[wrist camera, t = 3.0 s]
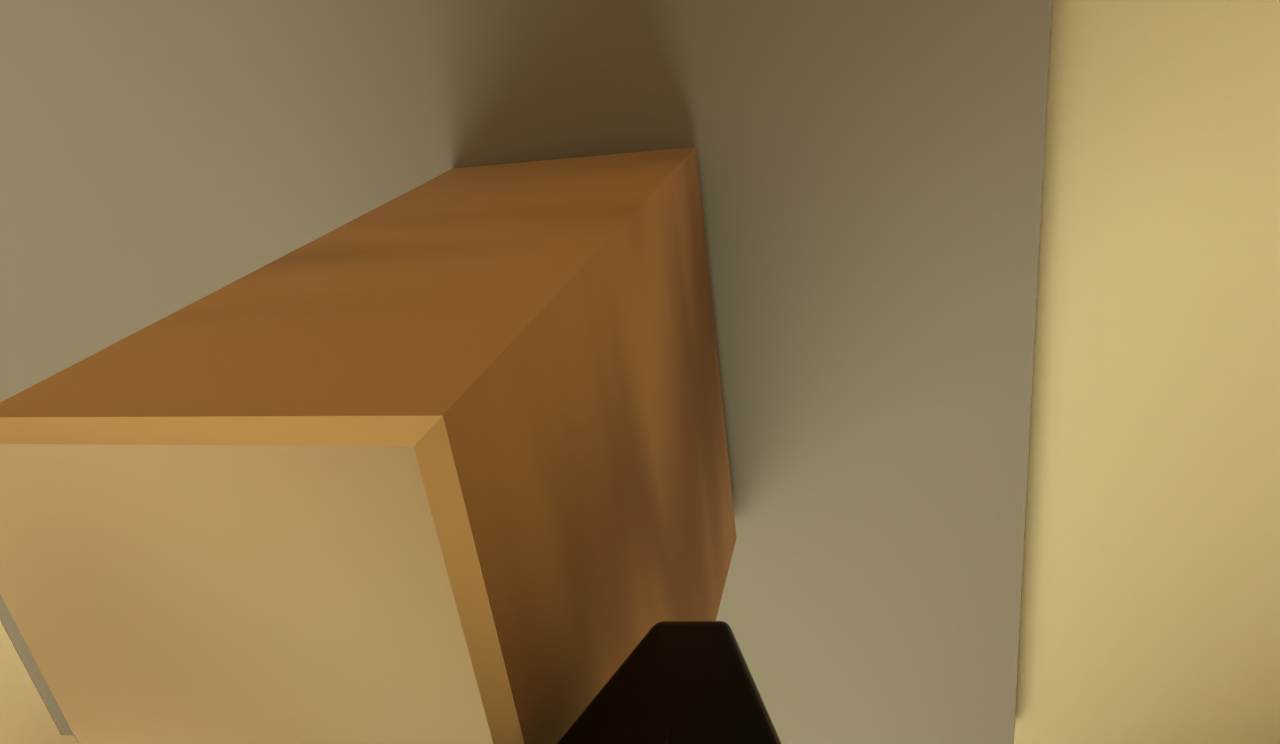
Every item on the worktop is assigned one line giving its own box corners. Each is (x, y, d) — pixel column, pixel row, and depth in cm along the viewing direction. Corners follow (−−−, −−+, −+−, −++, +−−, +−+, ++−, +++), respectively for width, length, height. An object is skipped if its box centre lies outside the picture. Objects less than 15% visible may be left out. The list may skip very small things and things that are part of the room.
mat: (1007, 727, 18) (1013, 746, 18) (75, 718, 22) (61, 735, 22) (1059, -364, 11) (1071, -377, 10) (-340, -85, 15) (-376, -87, 14)
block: (736, 537, 16) (592, 1111, 8) (531, 530, 17) (227, 1031, 9) (695, 146, 13) (414, 447, 5) (452, 168, 14) (-78, 442, 6)
